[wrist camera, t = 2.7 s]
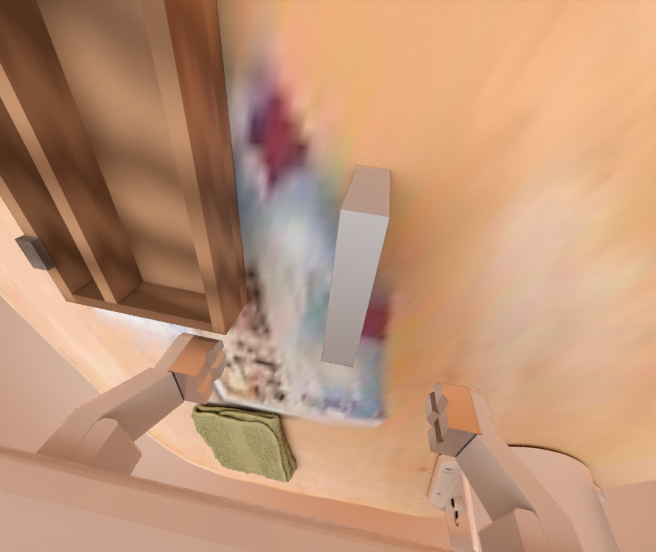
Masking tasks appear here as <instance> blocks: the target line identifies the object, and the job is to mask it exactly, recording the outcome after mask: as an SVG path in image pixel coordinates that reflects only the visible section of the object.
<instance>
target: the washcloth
mask: <svg viewBox="0 0 656 552" xmlns="http://www.w3.org/2000/svg"><path fill="white" fill-rule="evenodd" d="M192 418H193V420H194V421H195V423H194V424H195V427H196V430H197V431H198V433H200V434H201V436H202V438H203V439H204V440H205V442H206V444H208V446H210V447H211V449H212V451H213V452H214V455H215V458H217V459H218V461H219V462H220V463H221V465H222V466H223V467H226V468H229V469H232V470H236V471H241V472H245V473H247V474H248V473H254V474H258V475H262V476H265V477H266V478H270V479H274V480H279V481H283V482H289V480H290V479H291V478H292V475H293V474H294V472H295V470H296V468H297V467H296V463H295V461H294V460H293V458H292V453H291V451H290V447H289V445H288V443H287V442H286V439H285V438H286V437H285V436H284V434H283V433H282V429H281V427H280V423H279V422H280V419H279V418H278V416H276V414H275V413H272V414H271V413H263V412H254V411H251V412H250V411H246V410H239V409H232V408H222V407H207V406H201V405H196V406H195V407H194V408H193V413H192Z"/></svg>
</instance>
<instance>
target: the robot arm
mask: <svg viewBox="0 0 656 552" xmlns="http://www.w3.org/2000/svg"><path fill="white" fill-rule="evenodd" d="M223 347H224V345H223V341H221V340H216V339H211V338H207V337H202V336H197V335H193V334H187V333H182V334H181V335H179V336H178V337H177V339H176V340H175V341H174V343H173V344H172V345H171V347H170V348H169V349H168V350H167V352H166V353H165V354H164V356H163V357H162V358H161V360H160V361H159V362H158V363H157V365H156V366H155V367H154V368H149V369H147V370H145V371H143V372H141V373H140V374H138V375H136V376H134V377H133V378H131V379H129V380H127V381H125V382H124V383H122V384H120V385H118V386H116V387H115V388H113V389H111V390H109V391H107V392H106V393H104V394H102V395H101V396H99V397H97V398H95V399H93V400H92V401H90V402H88V403H86V404H84V405H82V406H81V407H79V408H77V409H75V410H74V412H73V413H72V414H71V415H70V416H69V417H68V418H67V419H66V420H65V421H64V423H63V424H62V425H61V426H60V427H59V428H58V429H57V430H56V431H55V432H54V434H53V435H52V436H51V437H50V438H49V439H48V441H46V442H45V444H44V445H43V446H42V447H41V448H40V449H39V450H38V451H37V452H36V453H33V452H28V451H24V450H20V449H16V448H11V447H7V446H3V445H0V552H620V550H619V547H618V545H617V542H616V540H615V537H614V535H613V532H612V530H611V527H610V525H609V522H608V519H607V517H606V514H605V512H604V509H603V507H602V504H604V503H605V502H606V499H605V497H604V495H603V492H602V490H601V489H600V488H599V487H598V486H596V485H595V484H593V480H592V476H591V473H590V471H589V469H588V468H587V467H586V466H585V465H584V464H583V463H581V462H579V461H578V460H576V459H574V458H572V457H569V456H567V455H564V454H561V453H557V452H553V451H549V450H543V449H537V448H528V447H509V446H508V445H507V444H506V443H505V442H504V440H502V439H498V436H497V432H496V429H495V426H494V423H493V420H492V417H491V413H490V410H489V407H488V404H487V401H486V398H485V395H484V393H483V391H481V390H478V389H473V388H467V387H464V386H458V385H453V384H447V383H441V382H438V383H436V384H435V386H434V392H433V393H430V395H429V397H428V398H427V403H426V417H427V420H428V422H429V423H430V425H431V426H432V427H431V429H430V430H429V432H428V434H429V441H430V449H431V452H435V453H439V454H442V455H440V456H439V457H438V460H437V464H436V467H435V471H434V474H433V478H432V481H431V485H430V488H429V492H428V501H429V503H430V504H431V505H432V506H434V507H436V508H438V509H440V510H443V511H445V512H446V517H447V523H448V531H449V537H450V542H451V546H452V548H453V549H454V551H452V550H448V549H444V548H440V547H435V546H431V545H427V544H423V543H418V542H414V541H410V540H405V539H401V538H396V537H393V536H388V535H384V534H379V533H375V532H371V531H367V530H363V529H358V528H354V527H349V526H345V525H341V524H337V523H332V522H328V521H323V520H319V519H315V518H311V517H307V516H303V515H298V514H294V513H289V512H285V511H281V510H277V509H273V508H268V507H264V506H260V505H255V504H251V503H247V502H243V501H238V500H234V499H230V498H226V497H221V496H217V495H212V494H208V493H204V492H200V491H195V490H191V489H187V488H182V487H178V486H174V485H170V484H166V483H161V482H157V481H152V480H148V479H144V478H140V477H135V476H131V475H130V474H131V472H132V471H133V469H134V468H135V466H136V464H137V463H138V461H139V459H140V458H141V451H140V450H139V448H138V447H137V446H136V445H135V443H134V441H135V440H136V439H138V438H139V437H140V436H141V435H143V434H144V433H145V432H147V431H148V430H149V429H150V428H152V427H153V426H154V425H155V424H157V423H158V422H159V421H160V420H162V419H163V418H164V417H165V416H167V415H168V414H169V413H170V412H172V411H173V410H174V409H175V408H177V407H178V406H179V405H180V404H182V403H183V402H184V400H185V401H190V402H196V403H202V404H206V403H207V401H208V399H209V397H210V395H211V394H212V392H213V390H214V381H215V380H217V379H218V378H220V377H221V375H222V373H223V371H224V367H225V364H226V354H225V353H224V352H223V351H222V349H223Z"/></svg>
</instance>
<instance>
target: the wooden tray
mask: <svg viewBox="0 0 656 552" xmlns="http://www.w3.org/2000/svg"><path fill="white" fill-rule="evenodd" d="M0 196H1V198H2V199H3V201H4V202H5V204H6V206H7V207H8V209H9V210H10V212H11V214H12V215H13V217H14V218H15V220H16V222H17V223H18V225H19V226H20V228H21V230H22V231H23V233H24V234H25V235H23V236H21V237H18V238H16V239H15V240H16V242H17V243H18V245H19V247H20V248H21V250H22V251H23V253H24V254H25V256H26V257H27V259H28V260H29V262H30V263H31V265H32V266H33V268H37V269H42V270H47V271H48V273H49V274H50V276H51V278H52V279H53V281H54V282H55V284H56V286H57V287H58V289H59V290H60V292H61V294H62V295H63V297H64V298H65V300H66V301H67V302H72V303H77V304H82V305H86V306H91V307H96V308H100V309H105V310H110V311H115V312H119V313H124V314H129V315H133V316H138V317H143V318H148V319H152V320H157V321H162V322H167V323H171V324H176V325H181V326H185V327H190V328H195V329H200V330H204V331H209V332H214V333H218V334H223V335H226V334H227V332H228V331H229V329H230V328H231V326H232V324H233V323H234V321H235V320H236V318H237V317H238V315H239V313H240V312H241V310H242V309H243V307H244V305H245V304H246V302H247V301H248V299H247V290H246V280H245V271H244V261H243V252H242V242H241V232H240V223H239V213H238V204H237V194H236V185H235V175H234V166H233V156H232V147H231V137H230V127H229V118H228V108H227V99H226V89H225V80H224V70H223V61H222V51H221V41H220V32H219V22H218V13H217V3H216V0H0Z"/></svg>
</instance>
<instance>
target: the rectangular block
mask: <svg viewBox="0 0 656 552" xmlns="http://www.w3.org/2000/svg"><path fill="white" fill-rule="evenodd" d="M389 218H390V170H388V169H381V168H374V167H367V166H361V165H357V167H356V170H355V173H354V175H353V178H352V181H351V183H350V186H349V189H348V191H347V194H346V196H345V199H344V202H343V204H342V207H341V210H340V218H339V226H338V234H337V242H336V249H335V257H334V265H333V273H332V281H331V289H330V296H329V304H328V312H327V320H326V328H325V335H324V343H323V351H322V359H321V361H326V362H330V363H335V364H340V365H344V366H349V367H353V366H354V362H355V357H356V353H357V349H358V345H359V341H360V337H361V333H362V329H363V325H364V321H365V316H366V312H367V308H368V304H369V300H370V296H371V292H372V288H373V284H374V280H375V275H376V271H377V267H378V263H379V259H380V255H381V251H382V247H383V243H384V239H385V234H386V230H387V226H388V222H389Z"/></svg>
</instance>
